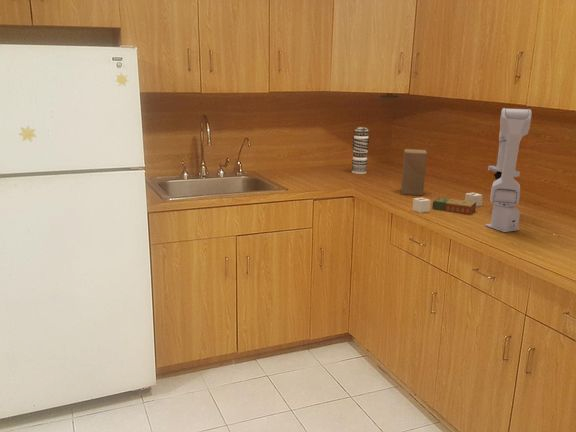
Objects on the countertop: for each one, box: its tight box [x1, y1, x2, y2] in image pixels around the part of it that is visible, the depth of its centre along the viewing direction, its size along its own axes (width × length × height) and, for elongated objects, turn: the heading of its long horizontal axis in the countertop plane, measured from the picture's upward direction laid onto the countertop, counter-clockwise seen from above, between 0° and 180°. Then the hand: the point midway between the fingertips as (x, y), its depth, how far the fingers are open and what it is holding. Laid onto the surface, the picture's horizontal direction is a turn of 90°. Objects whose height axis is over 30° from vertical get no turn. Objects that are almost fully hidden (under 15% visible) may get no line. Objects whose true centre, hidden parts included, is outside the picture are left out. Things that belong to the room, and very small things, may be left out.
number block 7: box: [464, 192, 484, 208], centre depth 235 cm, size 5×5×5 cm
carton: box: [431, 197, 477, 216], centre depth 226 cm, size 8×16×4 cm, turn 58°
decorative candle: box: [351, 126, 370, 175], centre depth 299 cm, size 9×9×25 cm
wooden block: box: [400, 148, 428, 196], centre depth 253 cm, size 10×10×20 cm
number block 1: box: [412, 197, 432, 214], centre depth 223 cm, size 5×5×5 cm
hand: (500, 190), depth 221 cm, fingers closed
